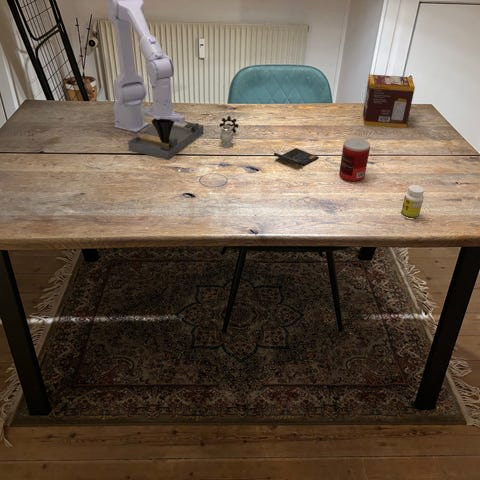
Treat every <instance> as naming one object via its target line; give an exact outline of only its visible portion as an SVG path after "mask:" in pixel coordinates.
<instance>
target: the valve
mask: <svg viewBox="0 0 480 480" xmlns="http://www.w3.org/2000/svg"><path fill="white" fill-rule="evenodd" d="M226 117H227V118H225V117H222V118H221V123H219V127H220V128H221V129H220V130H221V131H220V134H219V135H220V136H219V139H220V141H221V142H220V147H221V148H224V149H229V148H232V145H233V144H232V142H233V139H234V138H233V134H236V132H237V129H239V124H238V123H236V122H237V118H233V119H231V118H232V116H230V115H227V116H226ZM226 122H227V124H226Z"/></svg>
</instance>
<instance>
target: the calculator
mask: <svg viewBox="0 0 480 480" xmlns="http://www.w3.org/2000/svg"><path fill="white" fill-rule="evenodd" d="M273 156H275V157H277V158H279V159H281V160H283V161H286V162H289V163H290V164H291V163H292V164H294V165H296V166H300V167H303V168H304V167H305V166H307V165H309V164H312V163H313V162H315V161H317V160H319V159H320V157H319V156H317V155H315V154H313V153H310V152H308V151H305V150H302V149H300V148H297V147H295V148H293V149H291V150H289V151H286V152H285V153H283V154H280V153H278V152H274V153H273Z"/></svg>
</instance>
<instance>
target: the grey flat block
mask: <svg viewBox="0 0 480 480" xmlns="http://www.w3.org/2000/svg"><path fill="white" fill-rule="evenodd" d="M184 123H187V124H188V123H191V124H194V125H192V130H191V131H190V130H186V129H181V128H177V127H173V126H172V129H171V132H170V137H169V139H172V141H170V146H165V145H160V144H156V143H152V142H148V141H144V140H140V139H138V135H140V134H142V133H144V134H148V135H152V136H156V137H159V135H158V132H157V130H156V128H155V126H154V125H153V124H152V125H151V126H150V127H148V128H146V129H145V130H140V133H139V134H137V135H133V136H132V138H131V139H130V140H128V141H127V146H128V151H131V152H135V153H139V154H143V155H147V156H150V157H155V158H159V159H163V160H168V161H169V160H171V159H172V158H174V157H175V156H176V155H177V154H179V153H180V152H182V150H184V149H185V148H186V147H187V146H189V145H190V144H192V143H193V142H194V141H196V140H197V139H198V138H199V137H201V136H203V134H204V125H203V124H199V123H198V122H195V123H194V122H190V121H186V120H185V122H184Z"/></svg>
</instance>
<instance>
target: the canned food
mask: <svg viewBox="0 0 480 480" xmlns="http://www.w3.org/2000/svg"><path fill="white" fill-rule="evenodd" d="M370 149H371V143H370V142H369V141H368V140H365V139H363V138H360V137H359V138H357V137H352V138H348V139H345V140H344V142H343V145H342V152H341V157H340V158H341V159H340V165H339V172H338V173H339V178H340V179H341V180H343V181H344V182H347V183H352V182H355V183H360V182H362V181H363V180H364V179H365V176H366V172H367V167H368V160H369V155H370Z"/></svg>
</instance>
